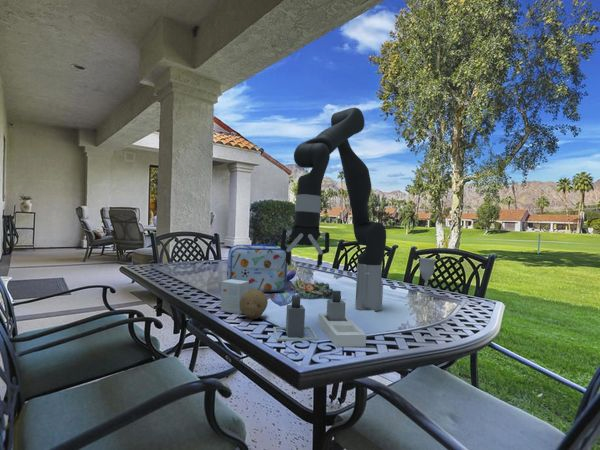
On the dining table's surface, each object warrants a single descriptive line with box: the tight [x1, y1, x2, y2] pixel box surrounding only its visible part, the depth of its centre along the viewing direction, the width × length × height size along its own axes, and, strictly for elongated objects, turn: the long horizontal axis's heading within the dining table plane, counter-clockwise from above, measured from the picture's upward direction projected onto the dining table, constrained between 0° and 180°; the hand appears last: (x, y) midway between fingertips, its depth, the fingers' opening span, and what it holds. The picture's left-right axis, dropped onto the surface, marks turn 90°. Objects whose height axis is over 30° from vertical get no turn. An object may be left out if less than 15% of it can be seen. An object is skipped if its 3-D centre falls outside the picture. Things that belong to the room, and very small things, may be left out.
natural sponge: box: [240, 289, 269, 320], centre depth 111 cm, size 9×9×10 cm
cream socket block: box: [317, 312, 367, 348], centre depth 98 cm, size 20×8×5 cm, turn 10°
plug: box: [285, 294, 306, 338], centre depth 96 cm, size 4×4×11 cm
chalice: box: [418, 257, 437, 298], centre depth 153 cm, size 7×7×18 cm
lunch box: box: [226, 242, 288, 293], centre depth 155 cm, size 28×10×22 cm, turn 107°
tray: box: [273, 326, 319, 342], centre depth 96 cm, size 11×10×2 cm
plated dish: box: [290, 275, 334, 301], centre depth 158 cm, size 35×28×7 cm
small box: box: [220, 279, 249, 315], centre depth 120 cm, size 8×6×10 cm
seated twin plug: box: [326, 290, 347, 321], centre depth 103 cm, size 4×4×11 cm
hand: (303, 266), depth 101 cm, fingers open, 8 cm apart
